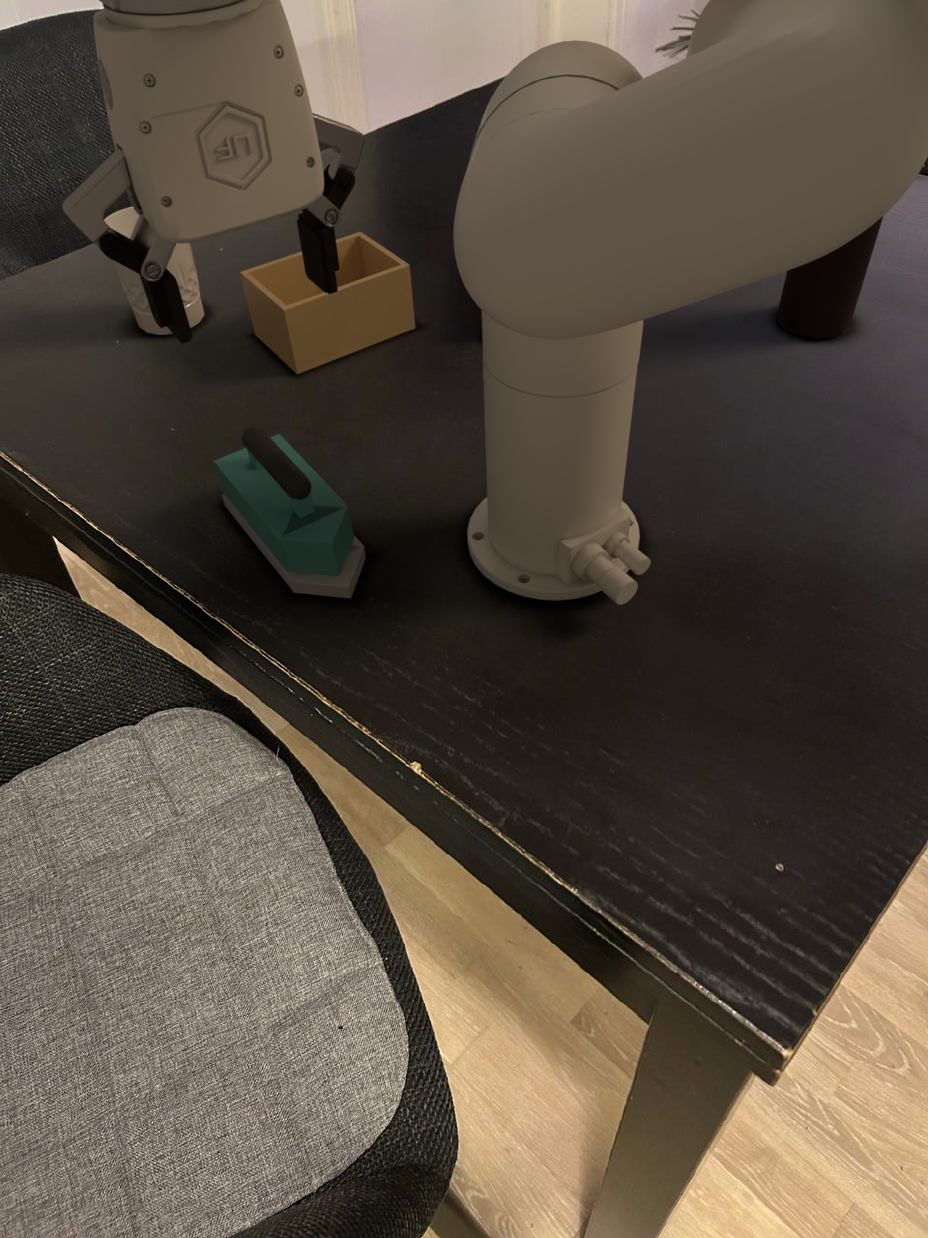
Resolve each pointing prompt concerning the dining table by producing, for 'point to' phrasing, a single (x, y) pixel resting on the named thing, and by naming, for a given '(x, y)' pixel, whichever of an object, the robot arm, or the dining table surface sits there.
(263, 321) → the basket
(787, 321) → the bottle
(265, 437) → the iron
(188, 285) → the white cup
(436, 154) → the dining table surface
